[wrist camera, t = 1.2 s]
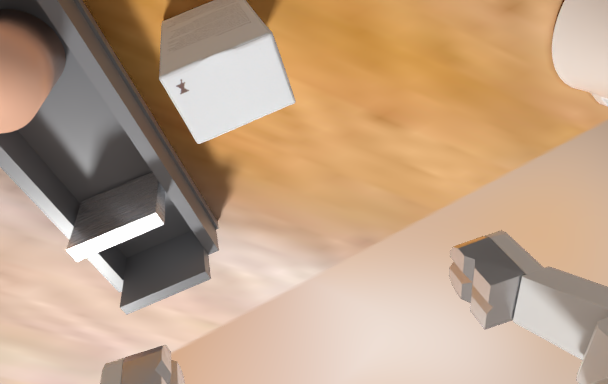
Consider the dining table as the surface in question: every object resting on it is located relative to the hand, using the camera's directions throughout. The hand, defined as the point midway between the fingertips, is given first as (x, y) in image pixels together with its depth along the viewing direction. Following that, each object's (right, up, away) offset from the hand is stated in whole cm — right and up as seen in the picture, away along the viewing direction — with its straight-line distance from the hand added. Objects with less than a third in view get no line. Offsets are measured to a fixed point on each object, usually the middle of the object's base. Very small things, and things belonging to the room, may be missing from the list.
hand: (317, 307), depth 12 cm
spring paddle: (-15, +3, +23) cm, 28 cm away
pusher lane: (-17, +7, +22) cm, 28 cm away
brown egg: (-19, +12, +16) cm, 28 cm away
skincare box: (-7, +15, +20) cm, 26 cm away
